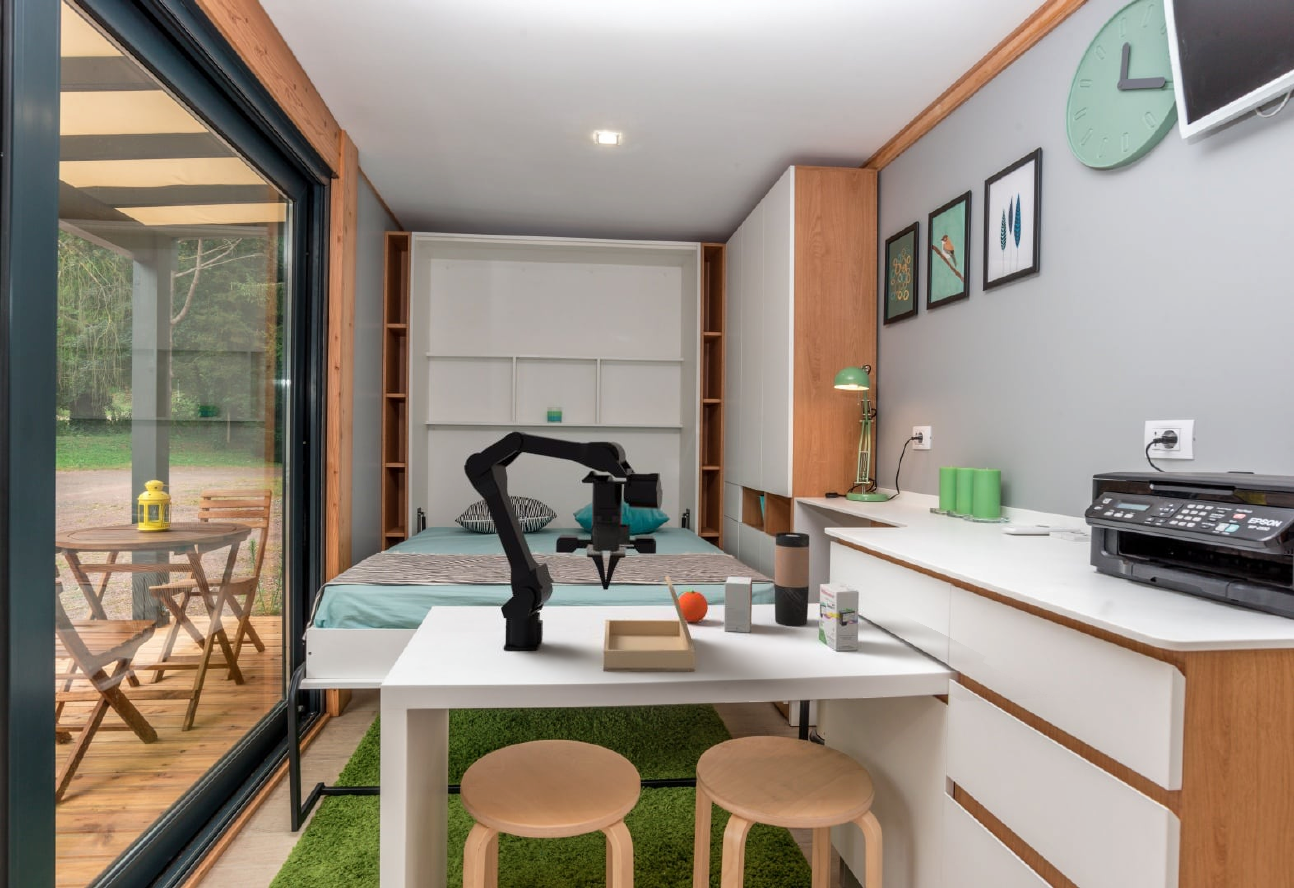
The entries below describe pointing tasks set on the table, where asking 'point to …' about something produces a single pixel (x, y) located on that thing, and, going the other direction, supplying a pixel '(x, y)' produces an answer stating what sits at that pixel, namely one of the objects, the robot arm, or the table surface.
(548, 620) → the table surface
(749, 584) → the small box
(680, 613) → the carton flap
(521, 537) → the robot arm
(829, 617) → the ink box
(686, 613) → the clementine
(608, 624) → the carton
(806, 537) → the travel mug
